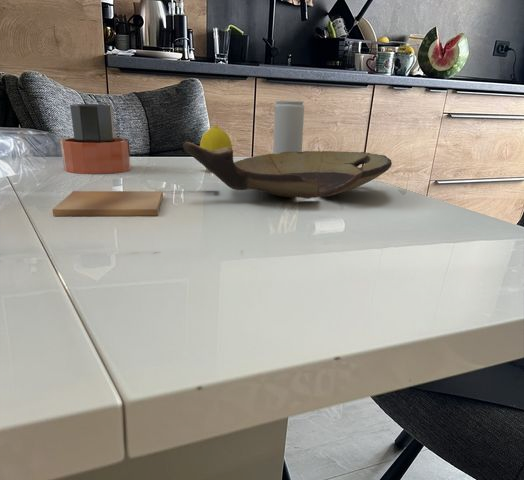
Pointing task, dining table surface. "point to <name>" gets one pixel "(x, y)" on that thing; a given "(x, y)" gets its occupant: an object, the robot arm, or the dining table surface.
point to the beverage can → (288, 126)
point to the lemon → (215, 139)
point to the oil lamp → (293, 170)
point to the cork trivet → (110, 203)
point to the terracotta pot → (96, 156)
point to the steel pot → (92, 123)
